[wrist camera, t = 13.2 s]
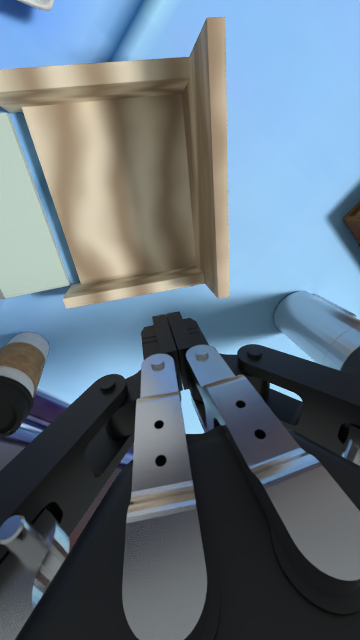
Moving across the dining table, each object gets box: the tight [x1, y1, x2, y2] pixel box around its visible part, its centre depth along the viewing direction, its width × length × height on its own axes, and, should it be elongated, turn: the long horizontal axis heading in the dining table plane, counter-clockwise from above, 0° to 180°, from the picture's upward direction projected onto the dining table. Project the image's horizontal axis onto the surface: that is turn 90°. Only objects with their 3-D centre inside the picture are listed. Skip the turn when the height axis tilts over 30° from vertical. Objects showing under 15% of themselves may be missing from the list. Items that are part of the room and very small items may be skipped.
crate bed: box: [0, 17, 230, 309], centre depth 28 cm, size 22×24×12 cm
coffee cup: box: [0, 332, 49, 438], centre depth 34 cm, size 8×8×15 cm
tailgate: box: [0, 113, 70, 299], centre depth 30 cm, size 2×20×10 cm
